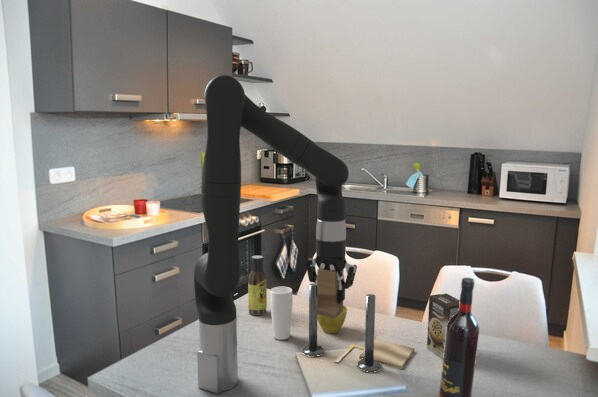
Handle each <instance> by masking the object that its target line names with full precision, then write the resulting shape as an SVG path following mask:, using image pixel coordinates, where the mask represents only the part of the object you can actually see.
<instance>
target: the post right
mask: <svg viewBox="0 0 598 397" xmlns="http://www.w3.org/2000/svg"><path fill="white" fill-rule="evenodd" d="M375 318H376V295H375V294H371V293H367V294H366V295H365V323H364V324H365V327H364V329H365V330H364V331H365V332H364V347H365V359H359V360H358V362H357V368H358V367H359V368H360V369H362V370H365V371H368V372H367V373H369V372H373V373H375V372H374V371H377V370H379V369H381V364H380V363H379V362H378V361H376V360H374V339H375V325H376V324H375ZM359 368H358V369H359ZM360 369H359V370H360ZM379 371H380V370H379ZM377 372H378V371H377Z"/></svg>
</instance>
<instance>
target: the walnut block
mask: <svg viewBox="0 0 598 397" xmlns="http://www.w3.org/2000/svg"><path fill="white" fill-rule="evenodd" d="M344 269H345V268H344ZM344 269H343V274H344ZM316 273H317V314H318V315H322V316H327V317H331V318H336V317H337V316H338V315H339V314H340V313H342V312H343V305H344V301H343V302H342V303H340V304H339V303H337V290H338V287H337V273H338V271H336V272H335V271H331V270H328V269H324V270H323V269H320V268H318V269H316ZM338 276H339V277H340V276H341V273H340V274H339V275H338Z"/></svg>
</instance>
